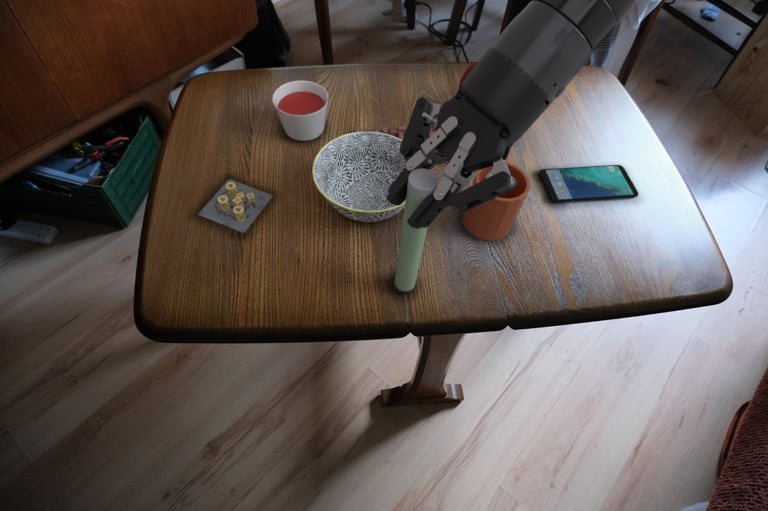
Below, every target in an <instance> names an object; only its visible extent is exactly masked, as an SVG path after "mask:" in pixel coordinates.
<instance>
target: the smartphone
mask: <svg viewBox="0 0 768 511" xmlns="http://www.w3.org/2000/svg"><path fill="white" fill-rule="evenodd" d="M538 176H539V179H540V181H541V183H542V186H543V188H544V190H545V192H546V195H547V197H548V199H549V201H550V202H551V203H553V204H562V203H574V202H575V203H576V202H590V201H591V202H592V201H602V200H603V201H604V200H605V201H607V200H619V199H633V198H637V197H638V196H639V191H638V189H637V188H636V186H635V184H634V183H633V180H632V179H631V177H630V175H629V174H628V172H627V171H626V169H625V167H624V166H623V165H621V164H610V165H609V164H607V165H591V166H575V167H557V168H542V169H539V171H538Z"/></svg>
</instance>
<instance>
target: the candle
mask: <svg viewBox="0 0 768 511" xmlns="http://www.w3.org/2000/svg"><path fill="white" fill-rule="evenodd" d="M272 104H273V106H274V109H275V111H276V114H277V116H278V118H279V121H280V123H281V126H282V128H283V130H284V132H285V134H286V135H287V136H288V137H289V138H291V139H293V140H295V141H300V142H307V141H313V140H315V139H317V138H318V137H320V136H321V135H322V134H323V132H324V130H325V126H326V119H327V113H328V105H329V93H328V91H327V90H326V88H324V86H322V85H320V84H319V83H316V82H315V81H310V80H292V81H289V82H286V83H283V84H282V85H280V86H279V87H278V88H276V90H275V91H274V93H273V94H272Z"/></svg>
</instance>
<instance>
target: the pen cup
mask: <svg viewBox="0 0 768 511" xmlns="http://www.w3.org/2000/svg"><path fill="white" fill-rule="evenodd" d="M506 164H507V166H508V169H509V172H510V174H511V176H512V177H513V178H515V179H516V181H517V185H516V187H515V188H514V189H513V190H510V191H508V192H506V193H504V194H502V195H500V196H498V197H496V198H494V199H492V200H489V201H487V202H485V203H483V204H481V205H479V206H477V207H475V208H473V209H471V210H468V211H466V212H464V211H463V214H462V222H463V223H462V224H463V225H464V228H465V229H466V231H467V232H469V234H471V235H472V236H474V237H475V238H477V239H480V240H483V241H488V242H491V241H492V242H493V241H498V240H502V239H503V238H505V237H506V236H507V235H508V234H509V233H510V231H511V229H512V227H513V226H514V224H515V221H516V219H517V217H518V216H519V213H520V211H521V209H522V207H523V204H524V202H525V200H526V198H527V195H528V193H529V191H530V189H531V182H530V178H529V176H528V175H527V173H526V172H525V171H524V170H523V169H521V168H520V167H519V166H518V165H516V164H513V163H510V162H508V161H506ZM492 168H493V166H491V167H488V168H484V169H480V170H477V171H476V172H475V174H474V177H473V178H474V179H473V181H472V185H471V186H473V185H475V184H477V183H479V182H481V181H483V180H485V179H486V174H487V173H488V172H489V171H491V169H492Z"/></svg>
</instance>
